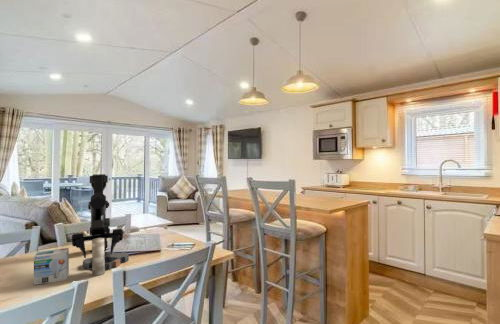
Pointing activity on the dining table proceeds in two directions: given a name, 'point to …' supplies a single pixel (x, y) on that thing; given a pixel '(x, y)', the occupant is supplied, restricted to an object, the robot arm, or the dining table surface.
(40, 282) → the light bulb box
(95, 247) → the pin
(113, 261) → the pixel heart plate
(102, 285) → the dining table surface
